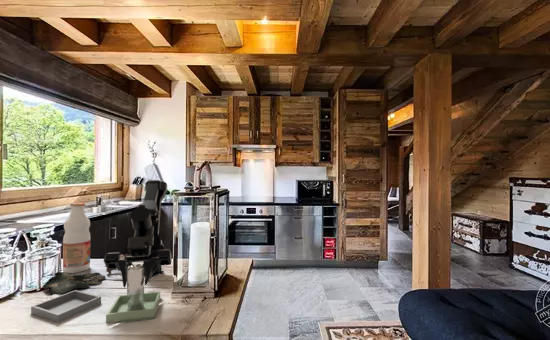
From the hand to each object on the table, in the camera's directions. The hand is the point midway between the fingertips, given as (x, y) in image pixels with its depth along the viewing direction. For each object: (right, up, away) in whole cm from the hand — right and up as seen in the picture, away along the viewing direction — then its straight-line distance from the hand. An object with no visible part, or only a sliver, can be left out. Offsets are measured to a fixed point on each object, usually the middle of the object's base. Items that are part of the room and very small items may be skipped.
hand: (134, 285), depth 82 cm
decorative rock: (-30, -8, +19) cm, 37 cm away
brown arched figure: (-22, -8, +34) cm, 41 cm away
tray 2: (0, -8, +1) cm, 8 cm away
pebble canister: (0, -7, +1) cm, 8 cm away
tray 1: (-21, -8, +1) cm, 22 cm away
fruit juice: (-42, -8, +35) cm, 56 cm away
